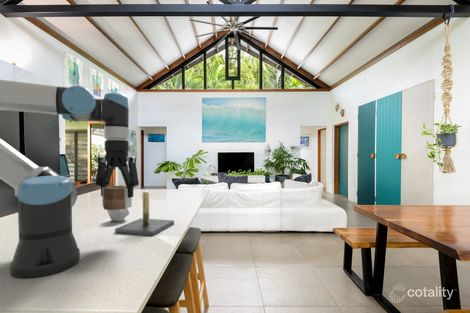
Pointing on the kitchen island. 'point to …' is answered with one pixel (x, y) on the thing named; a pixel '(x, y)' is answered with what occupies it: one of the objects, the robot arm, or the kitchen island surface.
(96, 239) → the kitchen island surface
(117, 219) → the die
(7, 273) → the kitchen island surface
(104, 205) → the bead
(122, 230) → the stand
